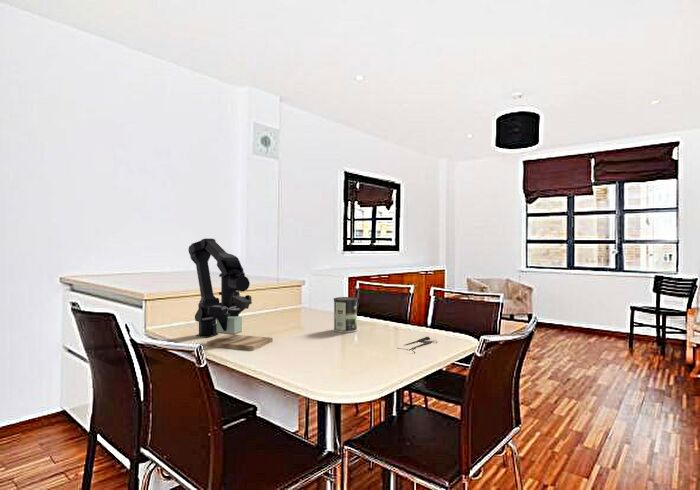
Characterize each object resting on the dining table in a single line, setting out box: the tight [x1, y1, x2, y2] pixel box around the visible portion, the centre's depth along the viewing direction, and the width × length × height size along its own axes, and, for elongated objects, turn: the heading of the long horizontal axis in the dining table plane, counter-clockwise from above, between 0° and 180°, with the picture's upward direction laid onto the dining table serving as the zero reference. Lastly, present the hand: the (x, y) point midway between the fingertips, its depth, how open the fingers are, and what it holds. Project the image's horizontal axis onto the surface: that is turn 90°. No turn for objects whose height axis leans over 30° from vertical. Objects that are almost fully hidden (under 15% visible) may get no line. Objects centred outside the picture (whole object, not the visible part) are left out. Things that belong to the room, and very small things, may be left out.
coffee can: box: [333, 296, 358, 334], centre depth 189 cm, size 10×10×14 cm
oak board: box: [206, 334, 274, 351], centre depth 164 cm, size 20×14×2 cm
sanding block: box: [216, 315, 243, 335], centre depth 166 cm, size 8×5×6 cm, turn 71°
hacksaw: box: [397, 336, 438, 355], centre depth 162 cm, size 24×10×2 cm, turn 135°
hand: (229, 329), depth 166 cm, fingers closed on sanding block, 5 cm apart
